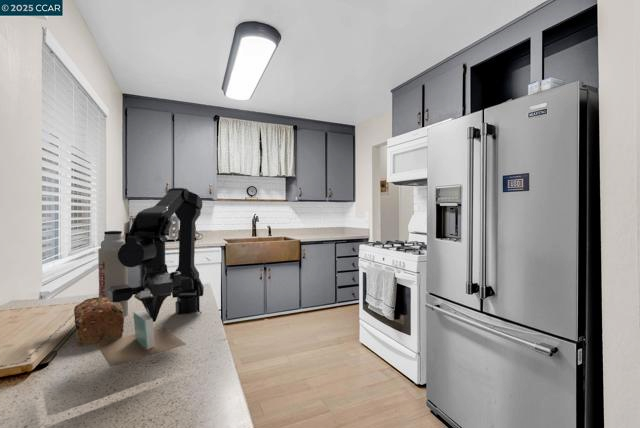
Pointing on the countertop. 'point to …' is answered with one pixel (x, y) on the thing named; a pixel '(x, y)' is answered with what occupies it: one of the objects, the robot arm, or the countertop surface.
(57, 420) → the countertop surface
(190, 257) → the robot arm
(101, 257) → the thermos bottle
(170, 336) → the board
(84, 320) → the bread
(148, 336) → the tile
